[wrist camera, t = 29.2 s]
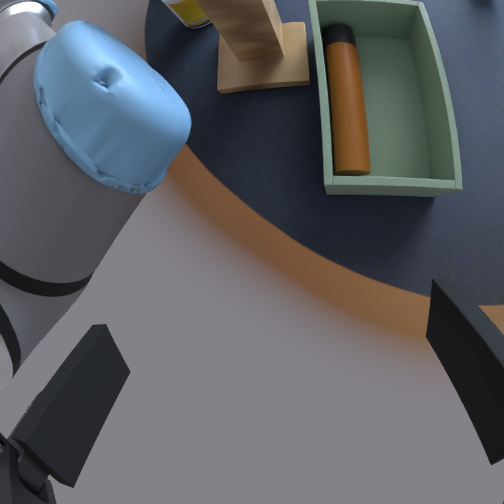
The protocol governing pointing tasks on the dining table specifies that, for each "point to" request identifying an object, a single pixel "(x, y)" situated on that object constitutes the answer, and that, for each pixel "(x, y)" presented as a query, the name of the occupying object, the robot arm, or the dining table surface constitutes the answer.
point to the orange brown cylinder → (346, 102)
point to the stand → (257, 46)
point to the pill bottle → (188, 12)
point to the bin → (392, 100)
